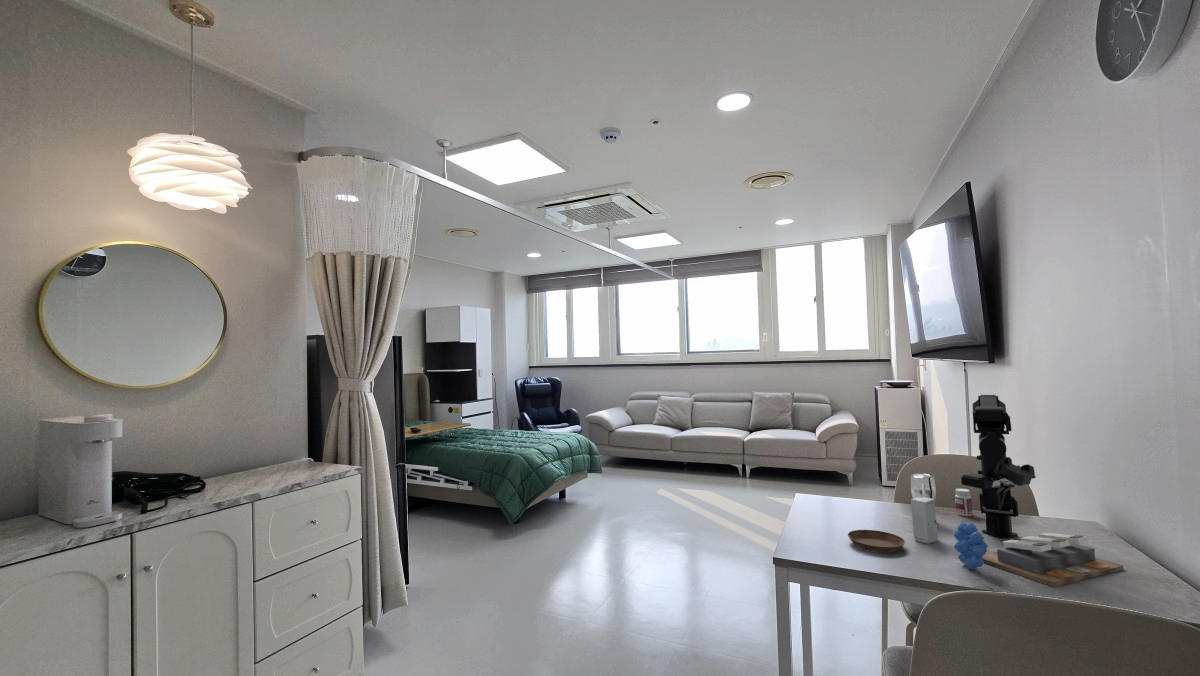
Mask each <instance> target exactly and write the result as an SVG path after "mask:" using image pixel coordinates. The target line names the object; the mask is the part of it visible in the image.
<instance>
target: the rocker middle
mask: <svg viewBox="0 0 1200 676" xmlns="http://www.w3.org/2000/svg"><path fill="white" fill-rule="evenodd" d="M1020 541H1026V542H1034V543H1045V544H1049V545H1050V546H1051V547H1059V548H1062V547H1066V546H1070V543H1069V541H1067V540H1063V539H1050V538H1042V537H1039V536H1032V535H1030V536H1023V537H1021V538H1020Z"/></svg>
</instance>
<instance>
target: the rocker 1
mask: <svg viewBox="0 0 1200 676" xmlns="http://www.w3.org/2000/svg"><path fill="white" fill-rule="evenodd" d="M1002 546H1003V548H1005V547H1011V548H1018V549H1025V550H1032V551H1039V552H1043V551H1048V550H1052V549H1051V546H1050V545H1049V544H1045V543H1034V542H1026V541H1021V540H1015V539H1009V540H1004V541H1002Z"/></svg>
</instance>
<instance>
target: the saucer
mask: <svg viewBox="0 0 1200 676" xmlns="http://www.w3.org/2000/svg"><path fill="white" fill-rule="evenodd" d="M847 537H848V539H849V540H850V541H851V542H852V543H853V544H854V545H855V546H856V547H858V548H859V547H860V548H859V549H861V548H862V549H861V550H864V549H865V550H864V551H867V550H868V552H872V551H873V553H878V552H880V554H887V553H888V554H889V553H890V552H891V553H895V552H898V551H899V550H900V549H902V547H904V545H905V544H906V541H905V539H904V538H903V537H900V536H899V535H896V534H894V533H890V532H886V531H881V530H874V529H856V530H850V531H849V532H848V533H847Z"/></svg>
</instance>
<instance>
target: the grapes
mask: <svg viewBox="0 0 1200 676" xmlns="http://www.w3.org/2000/svg"><path fill="white" fill-rule="evenodd" d="M956 529H957V530H956V531H955V532H954V533H953V537H954V539H956V541H957V542H955V544H954V546H953V548H954V549H955V550H956V551H957V552H958V553H960V554H959V555H958V559H959V561H960V562H961V563H962V564H964V565H965V566H966V567H967V568H968V569H969V570H971V571H974V570H977V568H981V567H982V566H983V565H984V564H985V563H984V562H985V560H984V559H983V558H982V556H984V555H985V554H987V549H988V547H989V545H988V544H987V542H985V541H984V538H985V537H984V536H983V534H981V533H980V532H979V530H978V528H977V526H976V525H974V523H971V522H968V523H967V522H961V523H959V525H958V526H957V527H956Z"/></svg>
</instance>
